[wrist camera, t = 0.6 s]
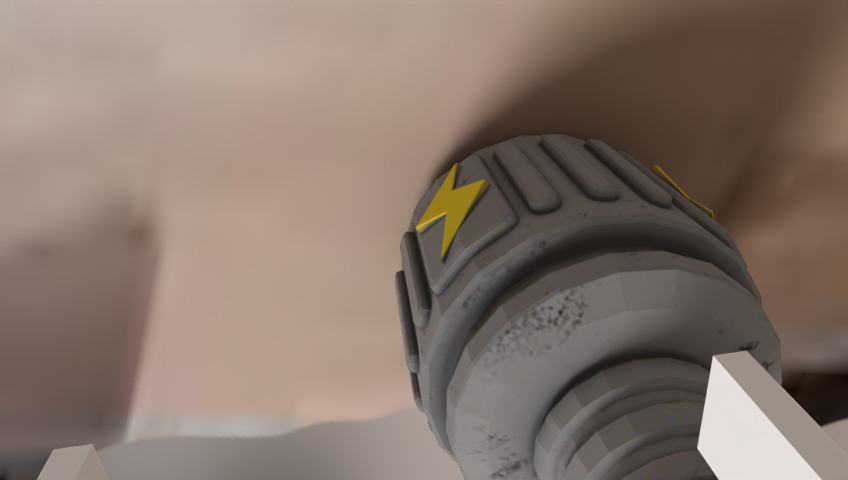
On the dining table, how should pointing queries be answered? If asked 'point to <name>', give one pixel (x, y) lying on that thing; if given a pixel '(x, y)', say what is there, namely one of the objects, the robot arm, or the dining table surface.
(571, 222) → the decorative lamp
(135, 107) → the dining table surface
